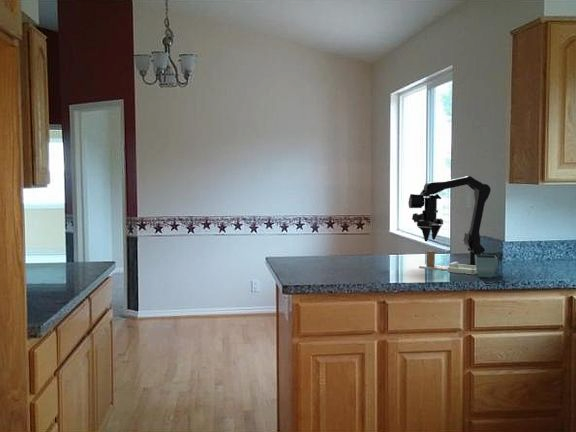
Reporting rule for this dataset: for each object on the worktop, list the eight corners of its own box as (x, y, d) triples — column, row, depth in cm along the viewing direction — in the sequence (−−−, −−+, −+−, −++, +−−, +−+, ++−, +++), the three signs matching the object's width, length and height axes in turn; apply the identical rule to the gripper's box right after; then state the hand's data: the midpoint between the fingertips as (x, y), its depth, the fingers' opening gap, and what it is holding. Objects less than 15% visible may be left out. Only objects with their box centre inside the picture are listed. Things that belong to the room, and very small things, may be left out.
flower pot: (497, 278, 268) (497, 258, 268) (475, 278, 270) (476, 257, 269) (494, 275, 277) (495, 255, 276) (473, 274, 279) (474, 254, 278)
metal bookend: (419, 268, 297) (419, 251, 296) (425, 266, 303) (426, 249, 303) (451, 271, 287) (452, 254, 287) (458, 269, 294) (458, 252, 293)
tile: (457, 270, 294) (457, 267, 293) (472, 271, 290) (472, 268, 289) (452, 272, 288) (452, 269, 288) (467, 273, 284) (467, 270, 284)
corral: (458, 268, 297) (458, 263, 296) (483, 270, 290) (483, 266, 289) (447, 271, 286) (447, 267, 286) (473, 274, 279) (473, 270, 279)
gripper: (422, 206, 316) (421, 237, 317) (407, 208, 301) (406, 241, 302) (443, 207, 310) (443, 239, 311) (429, 209, 295) (428, 242, 296)
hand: (429, 240), depth 305 cm, fingers open, 9 cm apart
